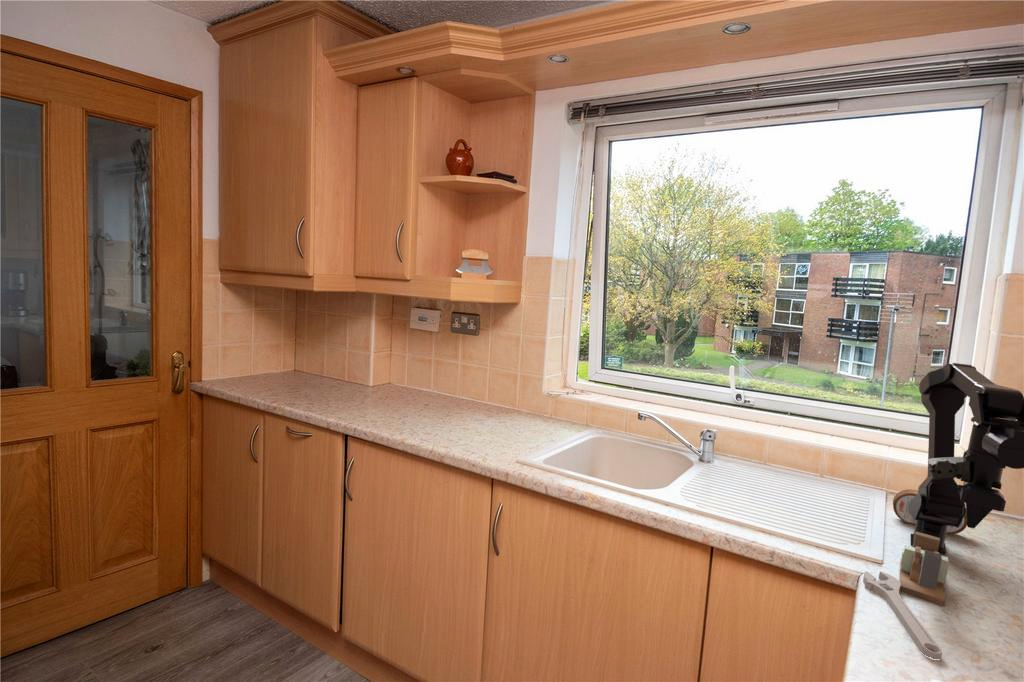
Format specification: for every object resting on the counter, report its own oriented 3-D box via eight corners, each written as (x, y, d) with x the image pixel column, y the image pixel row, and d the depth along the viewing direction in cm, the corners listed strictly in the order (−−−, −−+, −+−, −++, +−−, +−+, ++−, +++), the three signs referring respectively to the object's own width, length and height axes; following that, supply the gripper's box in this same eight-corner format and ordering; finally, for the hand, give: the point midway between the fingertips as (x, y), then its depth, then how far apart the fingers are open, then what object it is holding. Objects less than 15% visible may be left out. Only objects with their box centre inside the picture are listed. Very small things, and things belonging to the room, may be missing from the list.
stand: (900, 563, 121) (907, 527, 120) (941, 575, 117) (948, 538, 116) (899, 591, 110) (906, 552, 108) (944, 606, 106) (952, 565, 105)
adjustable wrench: (944, 664, 90) (946, 654, 89) (897, 653, 91) (899, 642, 91) (894, 582, 113) (895, 574, 113) (857, 574, 115) (859, 566, 115)
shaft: (918, 561, 112) (923, 532, 111) (933, 565, 110) (939, 536, 109) (918, 585, 103) (925, 553, 102) (935, 590, 101) (941, 558, 100)
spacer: (899, 565, 117) (903, 544, 117) (944, 579, 113) (949, 557, 113) (899, 569, 116) (903, 548, 115) (945, 583, 112) (949, 561, 111)
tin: (964, 535, 138) (971, 502, 136) (965, 540, 135) (972, 506, 134) (890, 515, 146) (896, 484, 145) (889, 520, 143) (895, 488, 142)
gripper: (934, 431, 123) (920, 500, 125) (936, 451, 108) (920, 529, 110) (1002, 444, 116) (986, 516, 119) (1014, 468, 101) (995, 550, 104)
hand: (970, 527), depth 113 cm, fingers closed
